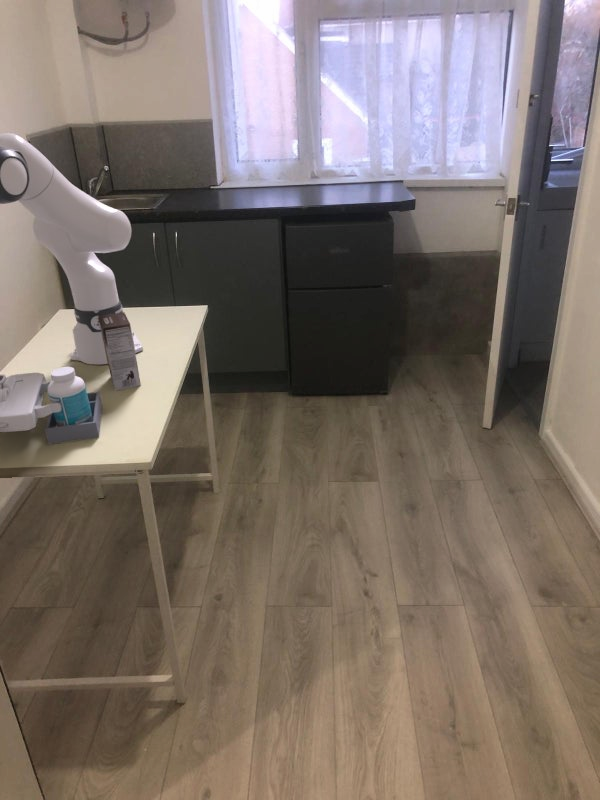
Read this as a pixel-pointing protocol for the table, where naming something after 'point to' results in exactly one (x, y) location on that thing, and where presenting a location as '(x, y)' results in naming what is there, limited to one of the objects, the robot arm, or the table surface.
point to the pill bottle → (69, 397)
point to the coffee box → (119, 350)
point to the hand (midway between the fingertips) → (63, 395)
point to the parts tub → (76, 430)
